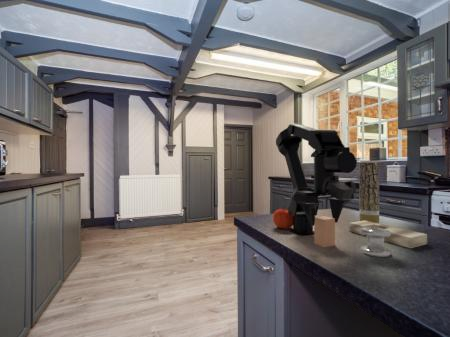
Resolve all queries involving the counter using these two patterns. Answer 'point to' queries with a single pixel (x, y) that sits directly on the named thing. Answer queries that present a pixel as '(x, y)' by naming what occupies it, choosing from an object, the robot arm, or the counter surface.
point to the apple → (282, 219)
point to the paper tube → (369, 191)
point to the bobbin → (375, 242)
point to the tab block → (324, 231)
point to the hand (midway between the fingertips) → (324, 223)
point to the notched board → (393, 234)
